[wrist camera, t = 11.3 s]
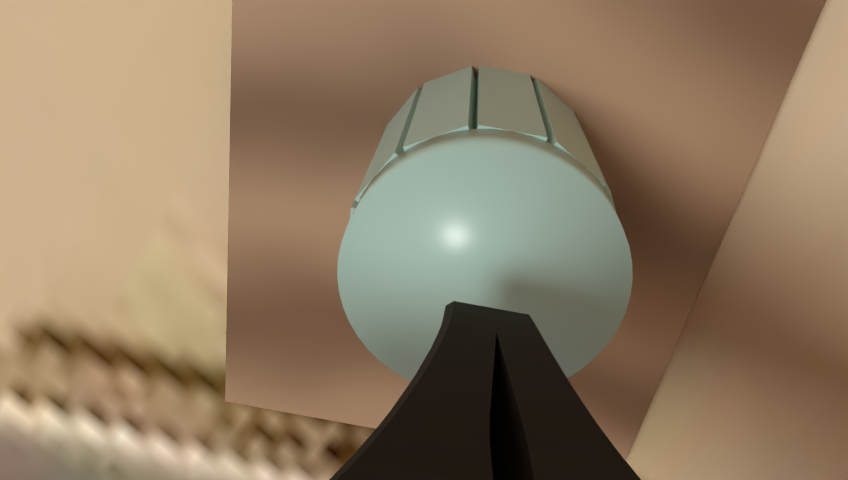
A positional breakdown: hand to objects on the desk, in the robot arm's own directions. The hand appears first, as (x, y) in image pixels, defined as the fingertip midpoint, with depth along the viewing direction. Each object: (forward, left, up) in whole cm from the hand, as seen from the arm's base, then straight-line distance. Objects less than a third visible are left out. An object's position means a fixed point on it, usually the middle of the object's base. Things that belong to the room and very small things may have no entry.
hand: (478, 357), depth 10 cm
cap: (0, 0, -8) cm, 8 cm away
